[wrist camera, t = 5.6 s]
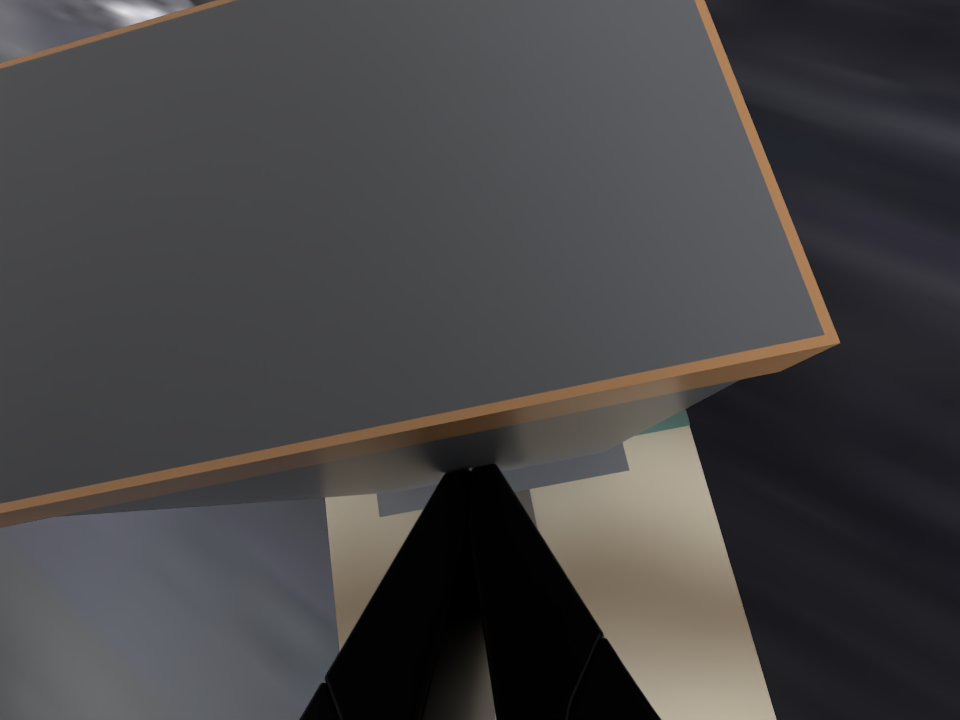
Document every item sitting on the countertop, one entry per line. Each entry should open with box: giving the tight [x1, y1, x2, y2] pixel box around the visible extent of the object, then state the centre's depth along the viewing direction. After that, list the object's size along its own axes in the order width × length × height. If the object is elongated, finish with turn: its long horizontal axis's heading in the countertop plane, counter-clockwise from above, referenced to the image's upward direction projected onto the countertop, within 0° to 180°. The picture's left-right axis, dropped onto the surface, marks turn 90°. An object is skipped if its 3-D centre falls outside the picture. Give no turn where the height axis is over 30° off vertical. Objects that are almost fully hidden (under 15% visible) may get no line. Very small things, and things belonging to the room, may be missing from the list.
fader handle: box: [0, 0, 840, 528], centre depth 8 cm, size 4×6×10 cm, turn 100°
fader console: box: [325, 409, 776, 720], centre depth 12 cm, size 17×10×4 cm, turn 11°
